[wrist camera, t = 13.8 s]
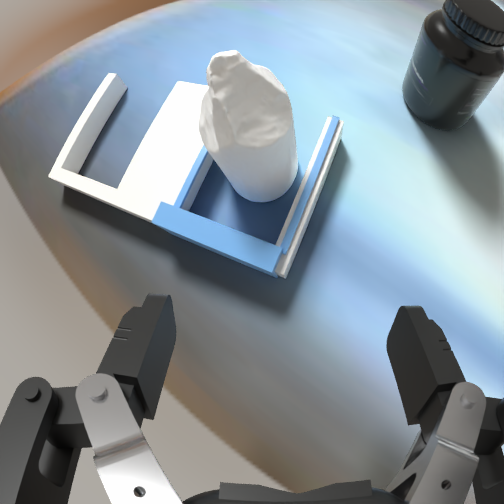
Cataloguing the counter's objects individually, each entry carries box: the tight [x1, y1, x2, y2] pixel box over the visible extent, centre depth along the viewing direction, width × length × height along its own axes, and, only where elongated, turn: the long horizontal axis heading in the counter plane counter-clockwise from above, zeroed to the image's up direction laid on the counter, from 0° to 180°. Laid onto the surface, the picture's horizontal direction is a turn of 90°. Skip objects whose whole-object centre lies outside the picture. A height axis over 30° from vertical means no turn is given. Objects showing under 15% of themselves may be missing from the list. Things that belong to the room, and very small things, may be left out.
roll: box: [198, 50, 298, 202], centre depth 19 cm, size 6×12×6 cm
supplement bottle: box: [402, 0, 504, 130], centre depth 17 cm, size 7×7×12 cm
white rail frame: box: [48, 73, 344, 279], centre depth 24 cm, size 12×23×4 cm, turn 67°
